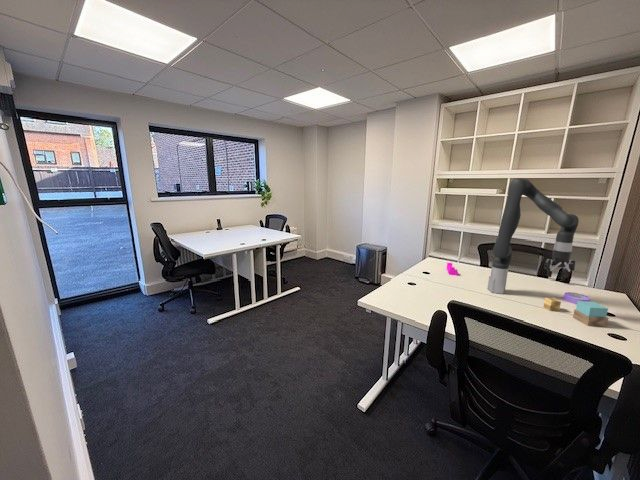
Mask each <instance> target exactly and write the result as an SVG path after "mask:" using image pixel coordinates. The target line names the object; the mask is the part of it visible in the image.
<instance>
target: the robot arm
mask: <svg viewBox="0 0 640 480" xmlns="http://www.w3.org/2000/svg"><path fill="white" fill-rule="evenodd" d="M522 196H525V197H526V198H528V199H529V200H530V201H531V202H533V204H535V206H536V207H537V208H538V209H539V210H541V211H542V212H543V213H544V214H545V215H547V216H549V217H550V218H551V220H553V222H555V224H556V225H559V227H560V229H559V231H558V232H557V233H556V238H555V242H554V245H553V250H552V259H549V258H546V259H545V262H544V266H543V269H545V270H546V276H547V277H548V278H552V275H553V271H554V270H555V269H557V268H563V269H564V271H563V275H562V276H563V278H565V279H567V278H568V277H569V276H570V272H573V271H575V266H576V260H574V259H571V257H572V256H571V255H572V251H573V241H574V237H575V233H576V232H577V229H578V225H579V220H580V219H579V217H578V216H577V215H576V214H575V213H573V214H572V213H567V212H566V211H565V210H564V209H563V207H562V205H561V206H560V204H558V203H557V202H555V201H554V200H552V199H551V198H549V197H548V196H546V195H545V194H544V193H542V192H541V191H540V190H539V189H538V188H537V187H536V186H535V185H534V184H533V183H532V182H531V181H530V180H529V179H526V178H514V179H513V180H511V181H510V183H509V186H508V192H507V199H506V203H505V206H504V209H503V213H502V217H501V220H500V224H499V229H498V234H497V238H496V240H495V243H494V246H493V247H492V254H493V256H494V259H493V260H492V263H491V270H490V275H489V276H488V282H487V288H486V289H487V291H489V292H491V293H495V294H505V292H506V287H507V279H508V273H509V269H510V268H509V267H510V264H511V260H512V255H513V248H512V246H511V245H510V243H511V240H512V237H513V236H514V234H515V232H516V230H517V228H518V226H519V223H520V219H521V213H522V211H521V200H522Z"/></svg>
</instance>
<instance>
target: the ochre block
mask: <svg viewBox="0 0 640 480" xmlns="http://www.w3.org/2000/svg"><path fill="white" fill-rule="evenodd" d="M561 303H562V302H561V300H558V299H557V298H555V297H545V298H544V303H543V308H544V309H545V310H548V311H549V312H560V309H561Z"/></svg>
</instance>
